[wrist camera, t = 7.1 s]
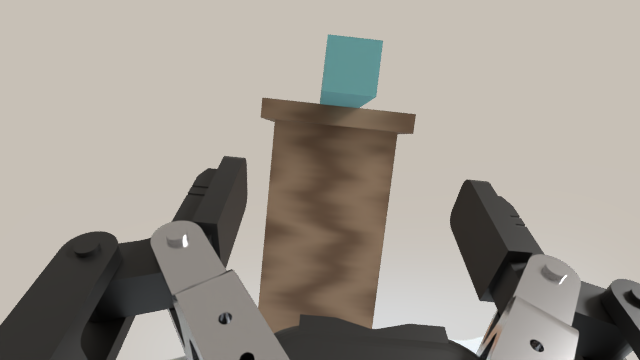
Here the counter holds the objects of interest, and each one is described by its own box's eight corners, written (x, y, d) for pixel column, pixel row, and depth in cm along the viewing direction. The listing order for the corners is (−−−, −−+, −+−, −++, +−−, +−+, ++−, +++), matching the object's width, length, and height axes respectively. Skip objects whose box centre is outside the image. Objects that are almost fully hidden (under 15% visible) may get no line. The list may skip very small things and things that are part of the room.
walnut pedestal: (201, 485, 29) (230, 91, 25) (241, 362, 45) (263, 108, 41) (393, 501, 30) (450, 115, 26) (366, 373, 45) (399, 123, 42)
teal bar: (322, 90, 19) (328, 34, 19) (318, 115, 43) (321, 90, 43) (375, 96, 20) (382, 40, 19) (342, 118, 43) (345, 93, 43)
